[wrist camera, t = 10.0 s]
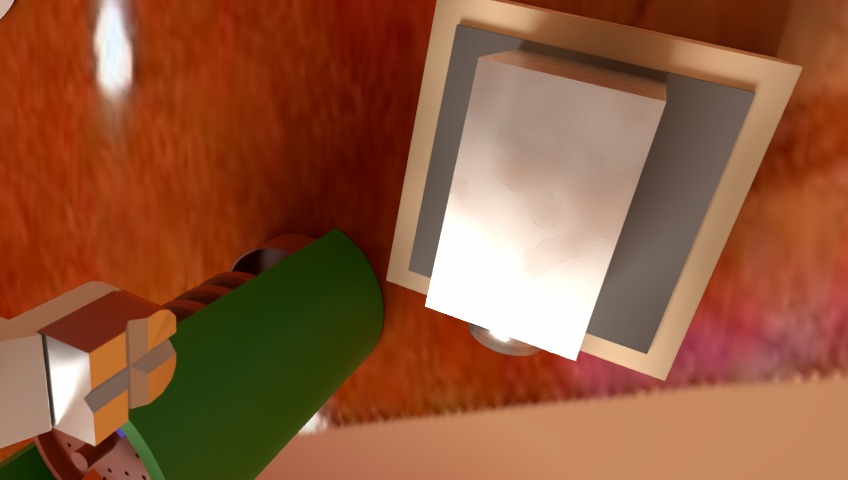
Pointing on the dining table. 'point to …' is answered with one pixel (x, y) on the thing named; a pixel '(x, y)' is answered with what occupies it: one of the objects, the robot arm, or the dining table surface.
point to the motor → (236, 369)
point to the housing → (540, 197)
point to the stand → (660, 178)
